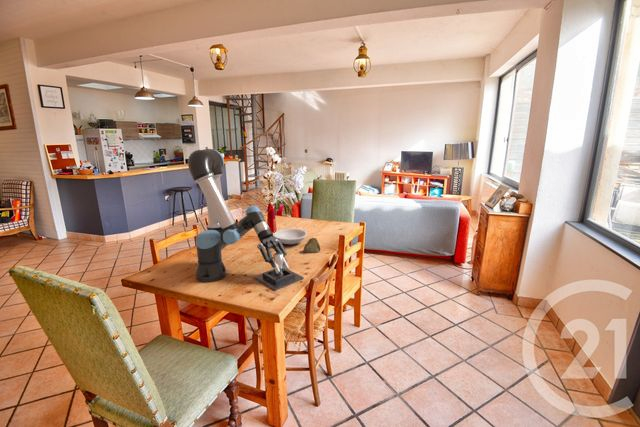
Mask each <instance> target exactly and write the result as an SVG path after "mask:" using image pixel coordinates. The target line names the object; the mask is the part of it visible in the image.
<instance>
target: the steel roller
mask: <svg viewBox="0 0 640 427" xmlns="http://www.w3.org/2000/svg"><path fill="white" fill-rule="evenodd" d="M272 258H273V260H275V262H276V264H277V265H278V267H279V269H280V272H279V273H276V271H275V269H274V268H273V269H274V276H278V277H279V276H283V275H284V263H283V253H276V252H274V253H273V254H272Z"/></svg>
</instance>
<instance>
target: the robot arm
mask: <svg viewBox="0 0 640 427" xmlns="http://www.w3.org/2000/svg"><path fill="white" fill-rule="evenodd" d="M224 164H225V160H224V156H223V155H222V154H221V152H219V150H217V149H214V148H213V149H212V148H206V149H197V150H194V151H193V152H191V153H190V155H189V156H188V158H187V167H188V171H189V173H190V176H191V178H192V180H193V181H194V183H197V184H198V186H199V188H200V190H201V191H202V193H203V195H204V197H205V201H206V208H207V214H208V221H209V222H208V224H207V225H206V227H207V229H206V230H204V231H201V232H199V233H198V234H197V235H196V237H195V246H196V253H197V266H196V270H195V279H196V280H197V281H198V282H202V283H212V282H216V281H219V280H222V279H223V278H225V277H226V276H227V268H226V266H225V264H224V262H223V258H222V257H223V256H222V251H223V250H224V249H225V248H226V247H227V246H229V245H234V244H236V243H237V242H238V241H240V240H241V238H243V237H244V236H245V235H246V234H247V233H248V232H249V231H251V230H252V229H253V230H254V232H255V234H256V236H257V238H258V240H259V242H260V243H259V244H258V245H257V246H256V248H257V249H258V250H259V251H260V253H261V255H262V257H263V260H264V262H265V263H268V264H270V265H271V267H272V268H273V269H275V271H276V273H279V272H280V269H279V267H278V265H277V264H276V262H275V260H273V254H272V250H271V249H273V250H274V251H275V253H283V263H284V268H285V270H287V269H288V270H289V268H290V267H289V265H288V260H287V258H286V256H287V255H288V254H287V253H288V252H287V251H286V249H285V247H284V245H283V243H281V240H280V238H279V239H276V238H275V237H273V232H272V230H271V228H270V227H269V225H268V224H269V223H268V222H267V221H266V219H265V217H264V214H263V213H262V210H261V209H260V208H259V207H258V206H257V205H251V206H249V207H248V208H247V209H246V210H245V216H243V217H242V218H241V219H240V220H239V221H237V222H236V220H235V218H234V216H233V214H232V212H231V210H230V208H229V206H228V204H227V202H226V201H225V199H224V196H223V193H222V192H223V189H222V184H221V183H222V182H221V177H222V175H223V169H222V168H223V167H224Z"/></svg>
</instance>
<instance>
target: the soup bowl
mask: <svg viewBox="0 0 640 427" xmlns="http://www.w3.org/2000/svg"><path fill="white" fill-rule="evenodd" d="M275 231H276V232H275ZM275 231H274V232H275V233H274V232H272V234H273V237H274V238H275V239H279V238H280V240H281V243H282V245H283V244H284V245H296V244H299V243H301V242H302V241H303V240H304V239H305V238H306V237H308V231H306V230H304V229H301V228H281V229H278V230H275Z"/></svg>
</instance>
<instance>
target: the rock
mask: <svg viewBox="0 0 640 427" xmlns="http://www.w3.org/2000/svg"><path fill="white" fill-rule="evenodd" d="M302 250H303V252H304V253H319V251H320V250H321V246H320V243H319V242H318V240H317V238H316V237H311V238H309V239H308V240H307V242H306V243H305V245H304V247H303V249H302ZM320 252H321V251H320Z"/></svg>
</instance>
